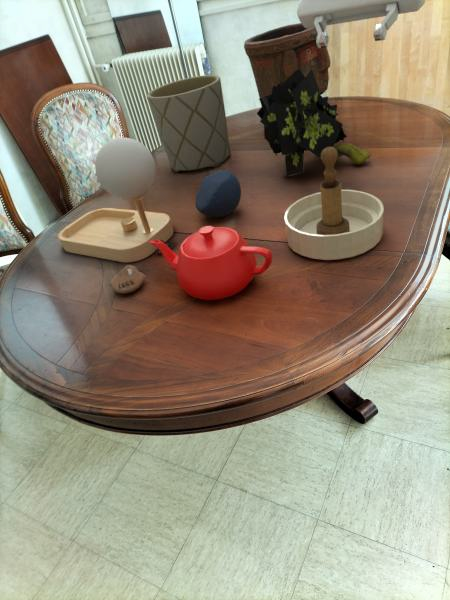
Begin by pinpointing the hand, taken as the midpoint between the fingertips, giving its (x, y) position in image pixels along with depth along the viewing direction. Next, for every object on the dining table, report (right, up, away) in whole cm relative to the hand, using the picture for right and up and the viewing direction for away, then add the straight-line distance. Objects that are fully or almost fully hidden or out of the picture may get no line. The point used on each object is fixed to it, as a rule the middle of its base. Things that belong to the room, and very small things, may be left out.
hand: (349, 42), depth 68 cm
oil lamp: (-40, -39, +21) cm, 60 cm away
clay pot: (+5, +17, +78) cm, 80 cm away
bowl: (+2, -29, +19) cm, 35 cm away
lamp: (-46, -27, +38) cm, 66 cm away
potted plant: (+5, -5, +49) cm, 49 cm away
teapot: (-22, -39, +15) cm, 47 cm away
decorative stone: (-21, -20, +38) cm, 48 cm away
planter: (-28, +4, +72) cm, 78 cm away
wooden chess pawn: (+2, -28, +19) cm, 34 cm away
